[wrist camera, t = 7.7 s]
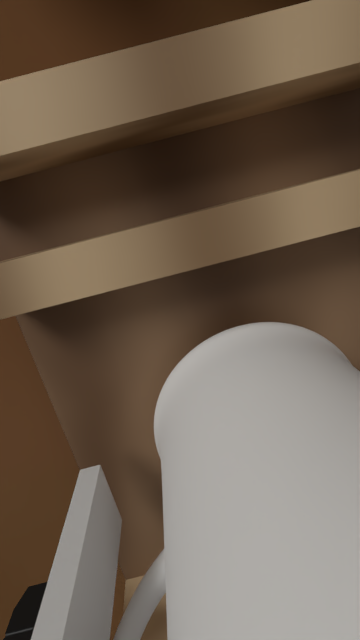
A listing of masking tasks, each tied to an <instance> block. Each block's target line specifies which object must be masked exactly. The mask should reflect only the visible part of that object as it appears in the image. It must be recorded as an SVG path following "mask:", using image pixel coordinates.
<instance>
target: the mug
mask: <svg viewBox="0 0 360 640" xmlns="http://www.w3.org/2000/svg"><path fill="white" fill-rule="evenodd" d="M154 437H155V443H156V447H157V451H158V454H159V457H160V459H161V472H162V496H163V525H164V549H163V550H162V552H161V553H160V554H159V555H158V557H157V558H156V559H155V561H154V562H153V563H152V565H151V566H150V568H149V569H148V571H147V572H146V574H145V575H144V577H143V579H142V580H141V582H140V584H139V585H138V587H137V589H136V591H135V592H134V594H133V596H132V598H131V600H130V602H129V604H128V606H127V608H126V610H125V612H124V615H123V617H122V619H121V621H120V624H119V626H118V629H117V631H116V634H115V636H114V639H113V640H140V639H141V637H142V634H143V632H144V630H145V628H146V625H147V623H148V621H149V619H150V617H151V615H152V614H153V612H154V610H155V608H156V607H157V605H158V603H159V602H160V600H161V599H162V597H163V596H164V594H165V593H166V612H167V640H360V371H359V370H357V369H356V368H355V367H354V366H352V364H351V363H350V361H349V360H348V359H347V357H346V356H345V355H344V354H343V353H342V352H341V350H340V349H339V348H337V347H336V346H335V345H334V344H333V343H332V342H330V341H329V340H328V339H326V338H325V337H323V336H321V335H319V334H318V333H316V332H314V331H311V330H309V329H306V328H304V327H300V326H297V325H293V324H288V323H280V322H258V323H250V324H245V325H240V326H237V327H233V328H230V329H227V330H225V331H222V332H220V333H218V334H216V335H214V336H212V337H210V338H208V339H207V340H205V341H203V342H202V343H200V344H199V345H198V346H196V347H195V348H194V349H192V350H191V351H190V352H189V353H188V354H187V355H186V356H185V357H184V358H183V359H182V360H181V361H180V362H179V363H178V364H177V365H176V367H175V368H174V369H173V370H172V372H171V373H170V375H169V376H168V378H167V380H166V382H165V383H164V385H163V387H162V390H161V392H160V395H159V397H158V401H157V404H156V409H155V415H154Z"/></svg>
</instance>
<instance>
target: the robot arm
mask: <svg viewBox="0 0 360 640" xmlns="http://www.w3.org/2000/svg"><path fill="white" fill-rule="evenodd" d="M121 525H122V519H121V516H120V513H119V511H118V508H117V506H116V503H115V501H114V498H113V496H112V493H111V490H110V488H109V485H108V483H107V480H106V478H105V475H104V473H103V470H102V468H101V465H97V466H93V467H89V468H85V469H81V470H80V473H79V476H78V479H77V483H76V486H75V490H74V493H73V497H72V500H71V503H70V507H69V510H68V514H67V517H66V521H65V524H64V527H63V531H62V534H61V538H60V541H59V545H58V548H57V551H56V555H55V558H54V562H53V565H52V569H51V572H50V575H49V579H48V582H45V583H41V584H38V585H34V586H30V587H28V588H27V590H26V591H25V593H24V595H23V596H22V598H21V599H20V601H19V602H18V604H17V605H16V607H15V608H14V611H13V613H12V616H11V619H10V622H9V625H8V627H7V630H6V633H5V634H6V636H5V638H4V639H3V640H109V639H110V629H111V620H112V610H113V601H114V591H115V582H116V573H117V563H118V554H119V544H120V535H121Z"/></svg>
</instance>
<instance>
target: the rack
mask: <svg viewBox="0 0 360 640" xmlns="http://www.w3.org/2000/svg"><path fill="white" fill-rule="evenodd" d="M12 316H16V318H17V321H18V323H19V326H20V328H21V330H22V333H23V335H24V338H25V340H26V342H27V345H28V347H29V350H30V352H31V354H32V357H33V359H34V362H35V364H36V366H37V369H38V371H39V374H40V376H41V378H42V381H43V383H44V385H45V388H46V390H47V393H48V395H49V397H50V400H51V402H52V405H53V407H54V409H55V412H56V414H57V417H58V419H59V421H60V424H61V426H62V429H63V431H64V433H65V436H66V438H67V441H68V443H69V445H70V448H71V450H72V452H73V455H74V457H75V460H76V462H77V464H78V467H79V469H80V470H81V469H85V468H89V467H93V466H97V465H101V468H102V470H103V473H104V475H105V478H106V480H107V483H108V485H109V488H110V490H111V493H112V496H113V498H114V501H115V503H116V506H117V508H118V511H119V513H120V516H121V519H122V525H121V535H120V544H119V554H118V563H119V565H120V567H121V570H122V572H123V575H124V577H125V579H126V584H125V597H124V610H123V615H124V612H125V610H126V608H127V606H128V604H129V602H130V600H131V598H132V596H133V594H134V592H135V591H136V589H137V587H138V585H139V584H140V582H141V580H142V579H143V577H144V575H145V574H146V572H147V571H148V569H149V568H150V566H151V565H152V563H153V562H154V561H155V559H156V558H157V557H158V555H159V554H160V553H161V552H162V550H163V549H164V525H163V496H162V472H161V459H160V457H159V454H158V451H157V447H156V443H155V437H154V415H155V409H156V404H157V401H158V397H159V395H160V392H161V390H162V387H163V385H164V383H165V382H166V380H167V378H168V376H169V375H170V373H171V372H172V370H173V369H174V368H175V367H176V365H177V364H178V363H179V362H180V361H181V360H182V359H183V358H184V357H185V356H186V355H187V354H188V353H189V352H190V351H191V350H192V349H194V348H195V347H196V346H198V345H199V344H200V343H202V342H203V341H205V340H207V339H208V338H210V337H212V336H214V335H216V334H218V333H220V332H222V331H225V330H227V329H230V328H233V327H237V326H240V325H245V324H250V323H258V322H280V323H288V324H293V325H297V326H300V327H304V328H306V329H309V330H311V331H314V332H316V333H318V334H319V335H321V336H323V337H325V338H326V339H328V340H329V341H330V342H332V343H333V344H334V345H335V346H336V347H337V348H339V349H340V350H341V352H342V353H343V354H344V355H345V356H346V357H347V359H348V360H349V361H350V363H351V364H352V366H354V367H355V368H356V369H357V370H359V371H360V0H312V1H308V2H304V3H300V4H296V5H292V6H288V7H285V8H281V9H277V10H273V11H269V12H265V13H262V14H258V15H254V16H250V17H246V18H242V19H239V20H235V21H231V22H227V23H223V24H219V25H215V26H212V27H208V28H204V29H200V30H196V31H192V32H189V33H185V34H181V35H177V36H173V37H169V38H165V39H162V40H158V41H154V42H150V43H146V44H142V45H139V46H135V47H131V48H127V49H123V50H119V51H116V52H112V53H108V54H104V55H100V56H96V57H92V58H89V59H85V60H81V61H77V62H73V63H69V64H66V65H62V66H58V67H54V68H50V69H46V70H43V71H39V72H35V73H31V74H27V75H23V76H19V77H16V78H12V79H8V80H4V81H0V319H4V318H8V317H12ZM140 640H167V612H166V593H165V594H164V596H163V597H162V599H161V600H160V602H159V603H158V605H157V607H156V608H155V610H154V612H153V614H152V615H151V617H150V619H149V621H148V623H147V625H146V628H145V630H144V632H143V634H142V637H141V639H140Z"/></svg>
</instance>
